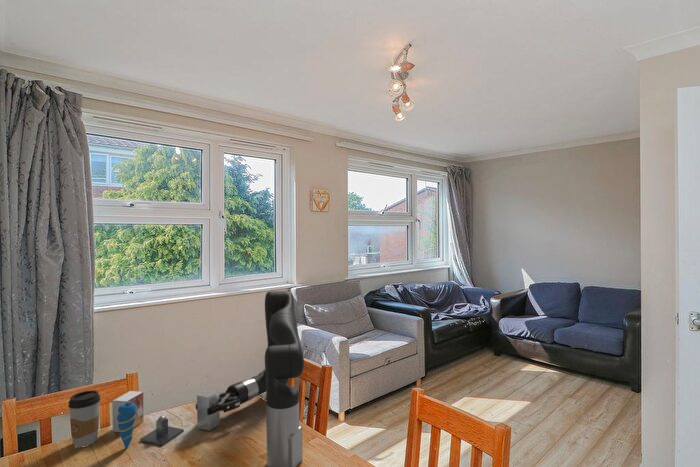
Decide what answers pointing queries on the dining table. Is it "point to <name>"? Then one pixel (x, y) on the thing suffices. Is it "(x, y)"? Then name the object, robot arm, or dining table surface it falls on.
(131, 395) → the small box
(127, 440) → the ornament
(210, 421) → the brushed metal pedestal
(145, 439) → the grey plate with post
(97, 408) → the coffee cup
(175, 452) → the dining table surface
